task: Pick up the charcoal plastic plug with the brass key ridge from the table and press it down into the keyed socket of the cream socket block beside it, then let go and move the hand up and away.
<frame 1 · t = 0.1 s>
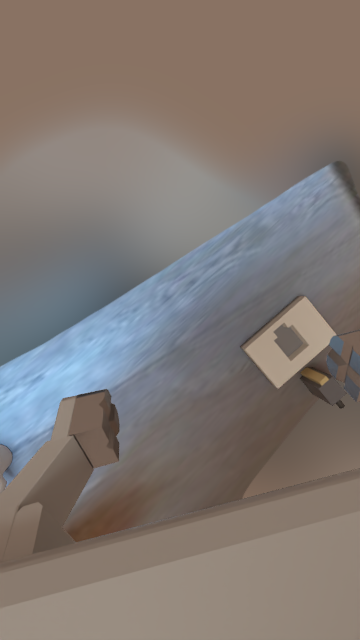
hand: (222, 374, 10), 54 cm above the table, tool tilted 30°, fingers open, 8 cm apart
plug: (312, 380, 68), on the table
socket block: (284, 340, 67), on the table
mug: (3, 462, 64), on the table
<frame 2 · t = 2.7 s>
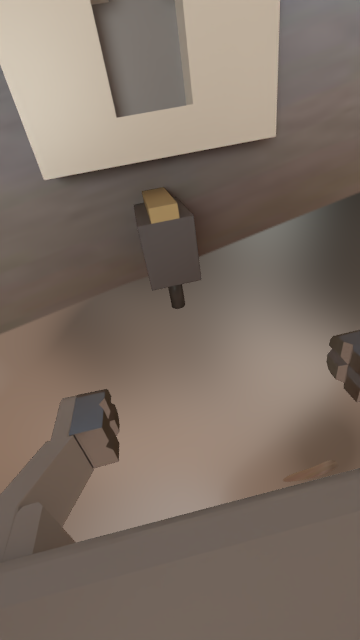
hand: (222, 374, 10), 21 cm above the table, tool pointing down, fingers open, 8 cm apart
plug: (159, 227, 28), on the table
socket block: (142, 64, 21), on the table
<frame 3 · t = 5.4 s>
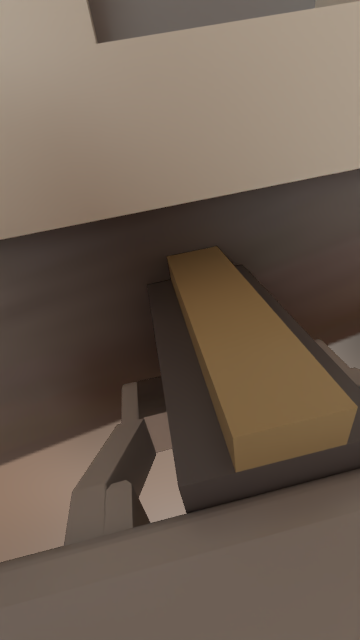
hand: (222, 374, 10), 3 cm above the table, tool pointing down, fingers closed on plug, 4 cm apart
plug: (201, 324, 13), on the table, touching gripper
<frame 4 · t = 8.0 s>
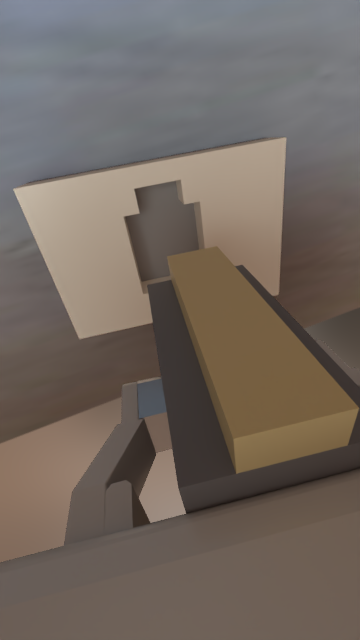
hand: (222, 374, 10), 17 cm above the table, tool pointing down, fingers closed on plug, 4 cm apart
plug: (201, 324, 13), point 14 cm above the table, touching gripper
socket block: (164, 238, 24), on the table
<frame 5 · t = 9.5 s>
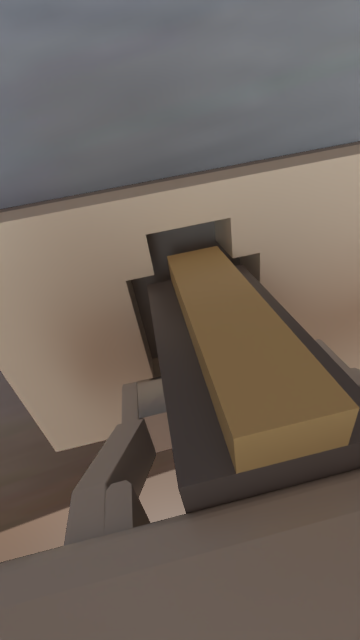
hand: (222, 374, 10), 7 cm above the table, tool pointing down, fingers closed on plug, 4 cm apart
plug: (201, 324, 13), point 3 cm above the table, touching gripper
socket block: (187, 295, 16), on the table
when the fingers open (4 cm above the table, at t = 11.0 s): plug stays where it is, resting on socket block.
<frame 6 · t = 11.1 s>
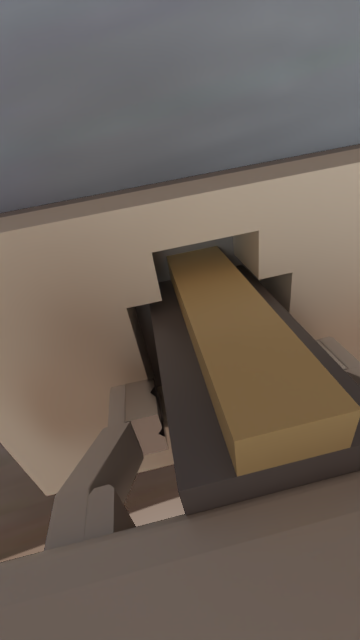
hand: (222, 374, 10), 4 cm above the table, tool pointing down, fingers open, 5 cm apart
plug: (201, 324, 13), point 1 cm above the table, touching socket block
socket block: (198, 314, 14), on the table
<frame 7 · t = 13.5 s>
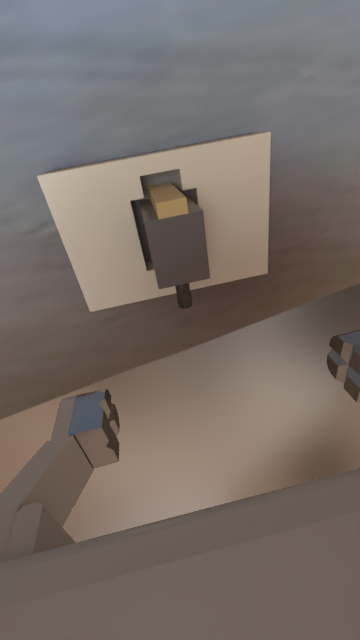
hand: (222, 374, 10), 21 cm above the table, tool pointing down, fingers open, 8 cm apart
plug: (165, 224, 27), point 1 cm above the table, touching socket block
socket block: (165, 222, 27), on the table
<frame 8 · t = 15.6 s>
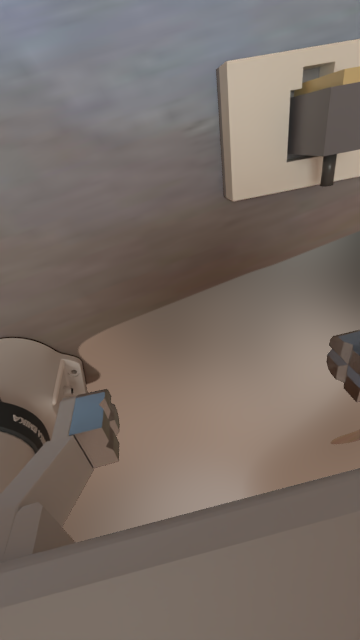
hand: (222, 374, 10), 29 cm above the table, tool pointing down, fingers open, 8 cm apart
plug: (300, 124, 31), point 1 cm above the table, touching socket block
socket block: (296, 125, 32), on the table
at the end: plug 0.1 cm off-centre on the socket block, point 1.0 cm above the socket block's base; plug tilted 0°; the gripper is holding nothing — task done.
